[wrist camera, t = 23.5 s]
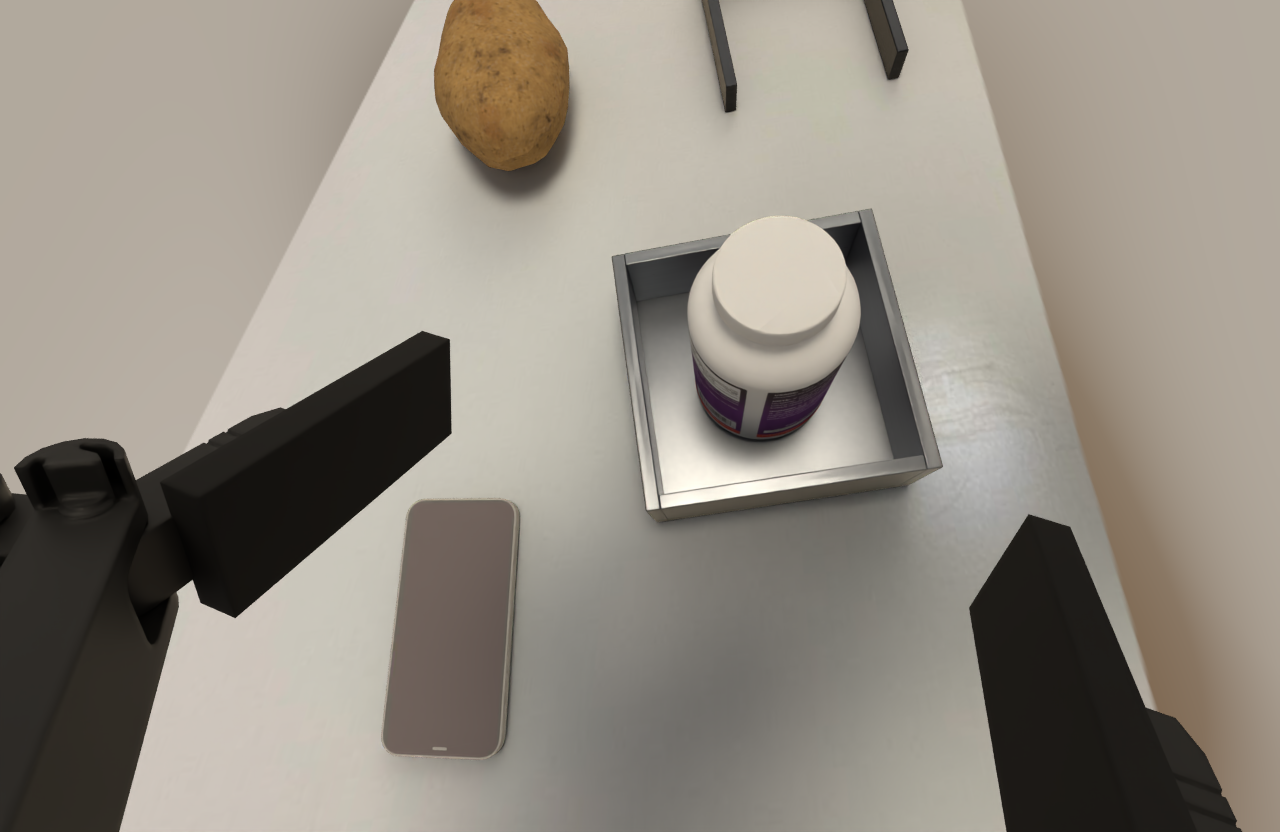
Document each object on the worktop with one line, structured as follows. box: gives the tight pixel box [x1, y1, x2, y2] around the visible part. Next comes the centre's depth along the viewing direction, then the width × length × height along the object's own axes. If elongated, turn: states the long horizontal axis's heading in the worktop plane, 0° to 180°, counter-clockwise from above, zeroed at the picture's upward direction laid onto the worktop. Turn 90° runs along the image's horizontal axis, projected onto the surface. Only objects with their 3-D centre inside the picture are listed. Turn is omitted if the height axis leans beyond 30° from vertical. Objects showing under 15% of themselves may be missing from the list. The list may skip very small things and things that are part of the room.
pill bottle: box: [687, 216, 861, 439], centre depth 32 cm, size 8×8×14 cm
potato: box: [434, 0, 569, 171], centre depth 44 cm, size 10×14×8 cm
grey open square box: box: [612, 209, 943, 522], centre depth 37 cm, size 16×16×6 cm
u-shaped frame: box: [702, 0, 908, 112], centre depth 46 cm, size 13×13×4 cm
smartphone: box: [381, 498, 520, 760], centre depth 38 cm, size 7×1×15 cm
